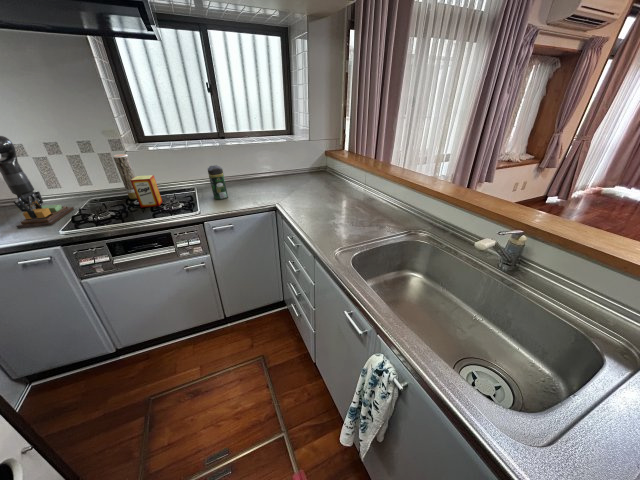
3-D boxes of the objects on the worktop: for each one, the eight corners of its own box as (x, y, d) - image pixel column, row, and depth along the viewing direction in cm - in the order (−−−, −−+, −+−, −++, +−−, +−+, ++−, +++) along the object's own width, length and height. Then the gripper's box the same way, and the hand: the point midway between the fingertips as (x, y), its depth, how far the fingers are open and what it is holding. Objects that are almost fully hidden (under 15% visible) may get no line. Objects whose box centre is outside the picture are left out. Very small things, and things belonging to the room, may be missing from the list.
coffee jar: (212, 195, 162) (205, 165, 153) (225, 193, 165) (219, 163, 156) (215, 201, 155) (208, 169, 145) (229, 198, 158) (223, 167, 149)
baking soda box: (162, 201, 155) (153, 174, 147) (159, 205, 150) (149, 178, 142) (144, 203, 153) (134, 175, 145) (140, 207, 148) (130, 179, 140)
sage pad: (39, 214, 138) (36, 209, 136) (45, 210, 142) (42, 205, 140) (57, 213, 139) (54, 207, 138) (63, 209, 143) (60, 204, 142)
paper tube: (139, 194, 166) (124, 153, 153) (144, 197, 162) (128, 155, 149) (127, 197, 161) (110, 155, 149) (131, 200, 157) (115, 157, 145)
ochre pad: (25, 219, 129) (22, 213, 128) (32, 215, 133) (29, 209, 132) (45, 217, 131) (41, 211, 129) (51, 213, 135) (48, 207, 133)
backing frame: (17, 228, 128) (14, 223, 126) (44, 211, 144) (41, 207, 143) (51, 225, 130) (48, 220, 129) (74, 209, 147) (71, 204, 146)
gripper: (19, 178, 129) (39, 210, 137) (-4, 188, 116) (18, 222, 125) (38, 177, 130) (55, 209, 139) (16, 186, 118) (37, 221, 126)
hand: (38, 215), depth 132 cm, fingers closed on ochre pad, 5 cm apart
